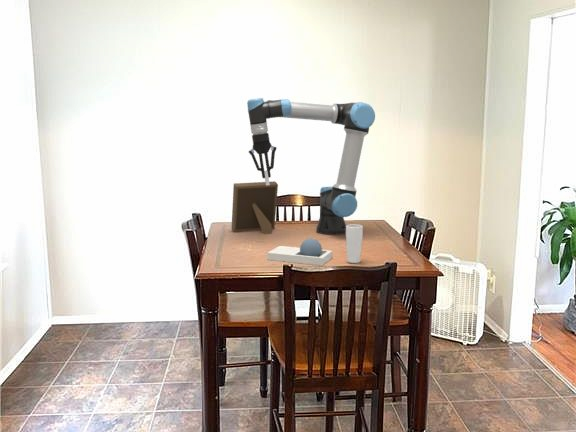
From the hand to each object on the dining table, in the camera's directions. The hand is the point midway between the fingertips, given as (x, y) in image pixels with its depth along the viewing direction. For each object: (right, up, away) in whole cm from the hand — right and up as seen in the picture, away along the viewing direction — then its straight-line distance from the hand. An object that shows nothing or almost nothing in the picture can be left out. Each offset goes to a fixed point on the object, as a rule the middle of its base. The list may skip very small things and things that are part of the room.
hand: (267, 184), depth 267 cm
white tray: (+14, -32, -23) cm, 42 cm away
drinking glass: (+36, -33, -29) cm, 57 cm away
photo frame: (-7, -22, +29) cm, 37 cm away
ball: (+19, -28, -26) cm, 43 cm away
